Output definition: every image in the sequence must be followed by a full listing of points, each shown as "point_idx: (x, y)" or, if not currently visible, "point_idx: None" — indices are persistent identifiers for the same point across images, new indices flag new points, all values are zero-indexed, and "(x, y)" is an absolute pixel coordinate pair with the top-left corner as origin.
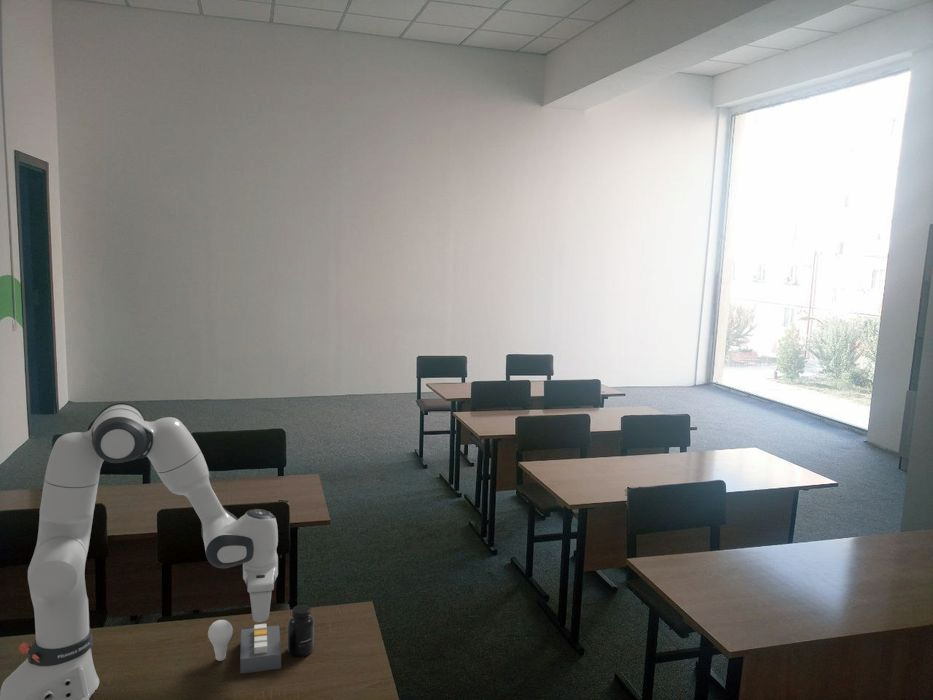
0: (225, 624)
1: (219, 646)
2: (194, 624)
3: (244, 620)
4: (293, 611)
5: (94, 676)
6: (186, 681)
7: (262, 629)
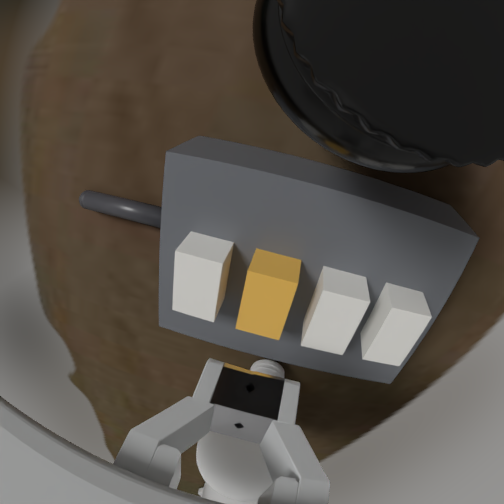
0: (260, 490)
1: None
2: (71, 347)
3: (51, 236)
4: (471, 160)
5: (255, 501)
6: (325, 427)
7: (222, 279)
